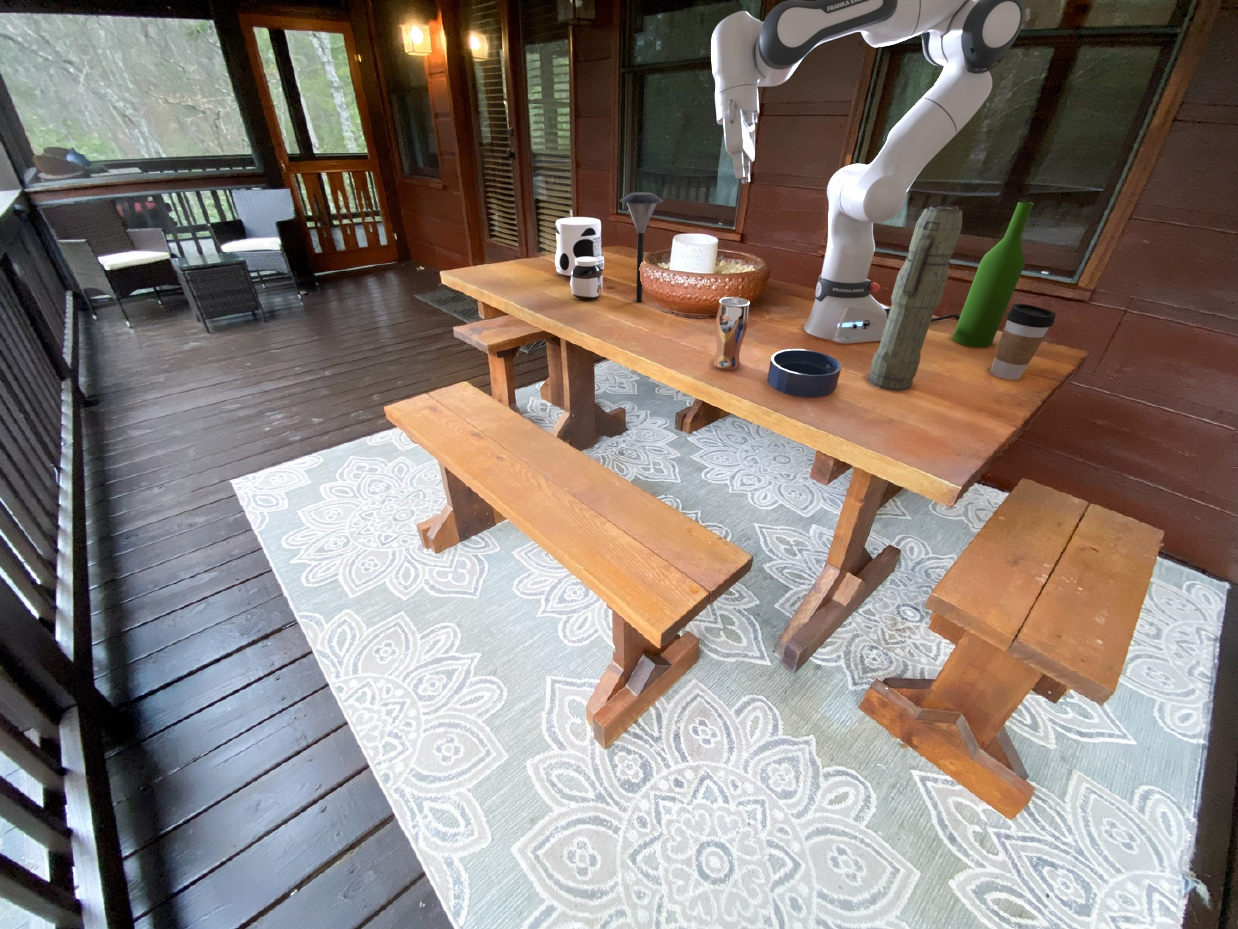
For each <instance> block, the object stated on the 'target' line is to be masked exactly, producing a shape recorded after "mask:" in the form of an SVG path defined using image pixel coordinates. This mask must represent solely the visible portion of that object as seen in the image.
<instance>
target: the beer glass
mask: <svg viewBox="0 0 1238 929" xmlns="http://www.w3.org/2000/svg"><path fill="white" fill-rule="evenodd" d="M749 315H750V300H748V299H746V298H743V297H738V296H727V297H726V296H725V297H722V298H720V299H719V300H718V305H717V311H716V316H715V340H716V341H715V342H716V351H715V356H714V359H713V362H712V365H713V367H714V368H715V369H717V370H718V371H719V370H720V371H725V372H732V371H736V370H738V369H739V368H740V365H741V363H740V362H741V360H740V354H741V353H740V352H741V348H742V345H743V341H744V339H745V337H746V336H745V335H746V332H747V328H748V324H749Z"/></svg>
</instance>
